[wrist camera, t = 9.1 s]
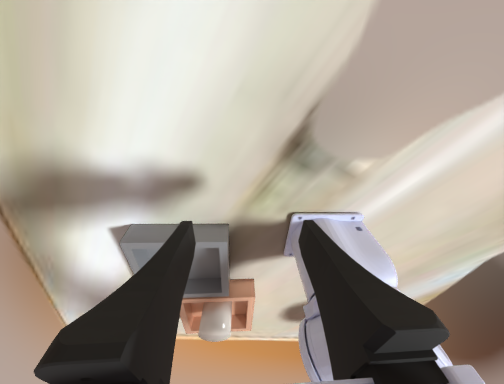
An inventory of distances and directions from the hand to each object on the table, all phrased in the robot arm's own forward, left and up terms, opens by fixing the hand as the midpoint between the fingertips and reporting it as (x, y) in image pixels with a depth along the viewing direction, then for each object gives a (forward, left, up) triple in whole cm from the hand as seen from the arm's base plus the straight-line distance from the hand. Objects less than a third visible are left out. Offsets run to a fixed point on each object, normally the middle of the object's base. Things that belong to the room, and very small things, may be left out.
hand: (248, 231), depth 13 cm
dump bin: (+4, +27, -9) cm, 29 cm away
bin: (+8, +14, -9) cm, 19 cm away
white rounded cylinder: (+4, +27, -9) cm, 28 cm away
